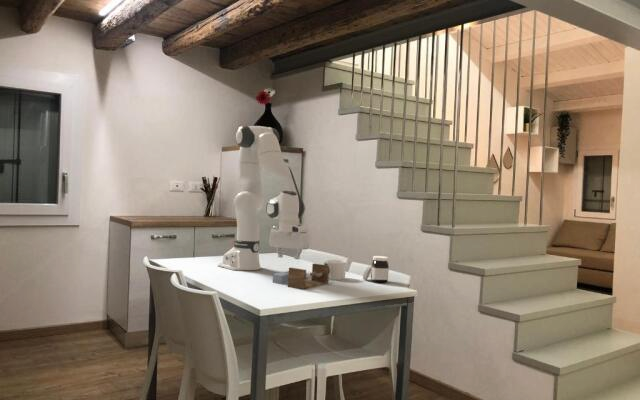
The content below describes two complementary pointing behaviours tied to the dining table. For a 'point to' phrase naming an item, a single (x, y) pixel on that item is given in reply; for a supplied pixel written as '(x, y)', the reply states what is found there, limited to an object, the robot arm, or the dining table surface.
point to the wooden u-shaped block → (299, 277)
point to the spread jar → (378, 270)
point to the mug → (336, 269)
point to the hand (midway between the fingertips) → (288, 258)
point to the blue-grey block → (281, 277)
